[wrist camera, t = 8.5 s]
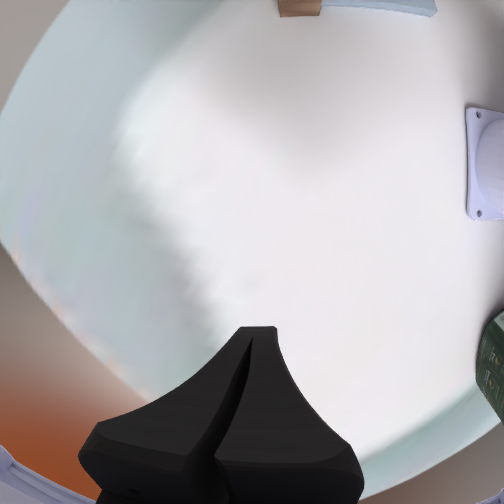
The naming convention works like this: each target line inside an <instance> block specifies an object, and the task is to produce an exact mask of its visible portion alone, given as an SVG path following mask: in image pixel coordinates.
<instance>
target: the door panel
mask: <svg viewBox="0 0 504 504" xmlns="http://www.w3.org/2000/svg"><path fill="white" fill-rule="evenodd" d="M321 6H341V7H359V8H371V9H381V10H389V11H397V12H404V13H410V14H416V15H421V16H427V17H431V16H432V15H434V14H435V13H436V12H437V8H436V5H435V1H434V0H322V3H321Z"/></svg>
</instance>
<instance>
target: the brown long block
mask: <svg viewBox="0 0 504 504" xmlns="http://www.w3.org/2000/svg"><path fill="white" fill-rule="evenodd" d="M278 3H279V10H280V17H292V16H319V13H320V8H321V3H322V0H278Z"/></svg>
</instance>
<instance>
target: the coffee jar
mask: <svg viewBox="0 0 504 504" xmlns="http://www.w3.org/2000/svg"><path fill="white" fill-rule="evenodd" d="M476 383H477V385H478V387H479V388H480V390H481V391H482V393H483V394H484V396H485V398H486V399H487V400H488V402H489V403H490V405H491V406H492V408H493V409H494V411H495V412H496V414H497V415H498V417H499V418H500V420H501V422H502V423H503V425H504V310H502V311H501V312H500V313H499V314H497V315H496V316H495V317H494V318H493V319H492V320H491V322H490V323H489V324H488V325H487V327H486V328H485V331H484V333H483V336H482V340H481V344H480V348H479V352H478V359H477V366H476Z"/></svg>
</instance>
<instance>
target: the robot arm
mask: <svg viewBox="0 0 504 504" xmlns="http://www.w3.org/2000/svg"><path fill="white" fill-rule="evenodd" d="M476 112H477V113H478V114H479V118H478V117H477V116H476ZM466 122H467V138H468V201H467V216H468V218H470V219H471V220H504V113H501V112H496V111H491V110H486V109H480V108H475V107H469V108H467V110H466ZM478 210H479V215H477V211H478ZM78 458H79V461H80V464H81V465H82V467H83V468H84V470H85V471H86V472H87V473H88V474H89V475H90V477H91V478H92V479H93V480H94V481H95V482H96V483H97V484H98V485H99V487H100V488H101V489H102V491H101V493H100V495H99V497H98V499H97V501H94V500H91V499H89V498H87V497H84V496H82V495H80V494H78V493H75V492H73V491H71V490H69V489H66V488H64V487H62V486H60V485H58V484H56V483H54V482H52V481H50V480H48V479H46V478H44V477H43V476H41V475H39V474H37V473H35V472H34V471H32V470H30V469H28V468H27V467H25V466H23V465H21V464H20V463H18V462H17V461H15V460H14V459H13V457H12V456H11V455H10V454H9V452H8V451H7V450H6V449H5V448H4V447H2V446H1V445H0V504H357V503H358V501H359V498H360V496H361V494H362V492H363V490H364V477H363V473H362V470H361V467H360V464H359V462H358V460H357V457H356V455H355V453H354V451H353V449H352V447H351V445H350V444H349V443H347V442H346V441H345V440H344V439H343V438H341V437H340V436H339V435H338V434H337V433H336V432H335V431H333V430H332V429H331V428H330V427H329V426H328V425H327V424H326V423H325V422H324V421H323V420H322V418H321V417H320V416H319V415H318V414H317V413H316V411H315V410H314V409H313V408H312V407H311V405H310V404H309V403H308V402H307V400H306V399H305V397H304V396H303V394H302V393H301V392H300V390H299V388H298V387H297V385H296V383H295V382H294V380H293V378H292V376H291V374H290V372H289V370H288V368H287V366H286V364H285V362H284V359H283V356H282V354H281V351H280V348H279V344H278V335H277V328H275V327H274V326H259V327H240V328H239V329H238V330H237V331H236V332H235V333H234V335H233V336H232V337H231V338H230V339H229V340H228V342H227V343H226V344H225V345H224V346H223V347H222V348H221V349H220V350H219V351H218V353H217V354H216V355H215V356H214V357H213V358H212V359H211V360H210V361H209V362H208V363H207V364H205V365H204V366H203V367H202V368H201V369H200V370H199V371H198V372H197V373H196V374H194V375H193V376H192V377H191V378H189V379H188V380H187V381H185V382H184V383H183V384H181V385H180V386H178V387H177V388H175V389H174V390H172V391H170V392H169V393H167V394H165V395H164V396H162V397H160V398H159V399H157V400H155V401H153V402H151V403H149V404H147V405H145V406H143V407H141V408H139V409H136V410H134V411H131V412H129V413H126V414H124V415H121V416H118V417H115V418H112V419H108V420H105V421H102V422H98V423H97V425H96V426H95V428H94V429H93V430H92V432H91V434H90V435H89V437H88V438H87V440H86V442H85V443H84V445H83V447H82V448H81V450H80V451H79V454H78ZM477 504H504V488H503V489H502V490H501V491H500V492H499V494H498V495H495V496H493V497H491V498H489V499H486V500H484V501H481V502H479V503H477Z"/></svg>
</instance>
